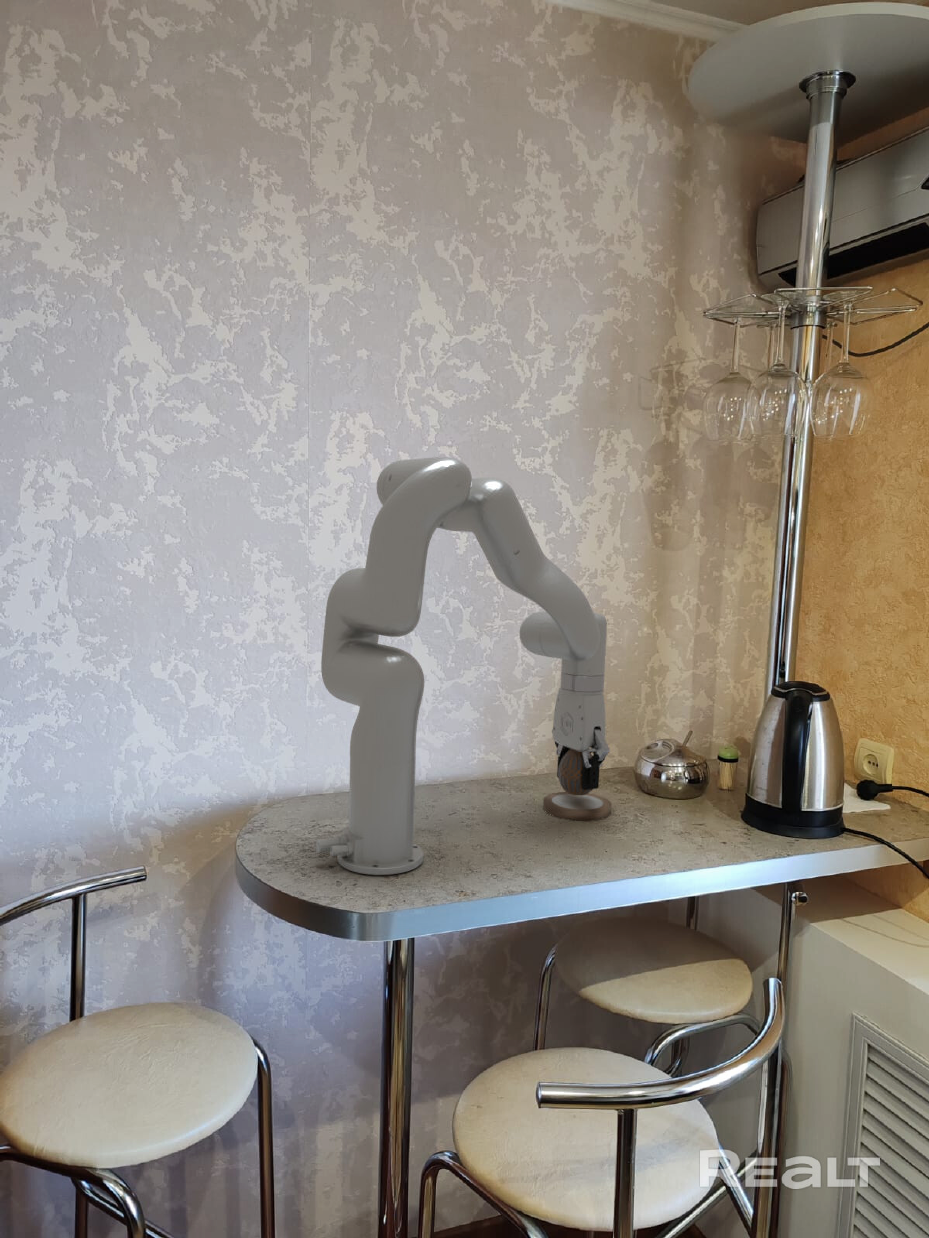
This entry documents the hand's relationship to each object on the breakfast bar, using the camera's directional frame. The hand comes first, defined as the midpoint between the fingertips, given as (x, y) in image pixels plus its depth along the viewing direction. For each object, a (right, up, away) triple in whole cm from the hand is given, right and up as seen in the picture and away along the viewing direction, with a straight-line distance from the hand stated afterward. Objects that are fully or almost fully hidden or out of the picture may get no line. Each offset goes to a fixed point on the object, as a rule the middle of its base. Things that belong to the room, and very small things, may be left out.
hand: (577, 782), depth 157 cm
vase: (0, -2, 0) cm, 2 cm away
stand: (0, -5, +1) cm, 5 cm away
